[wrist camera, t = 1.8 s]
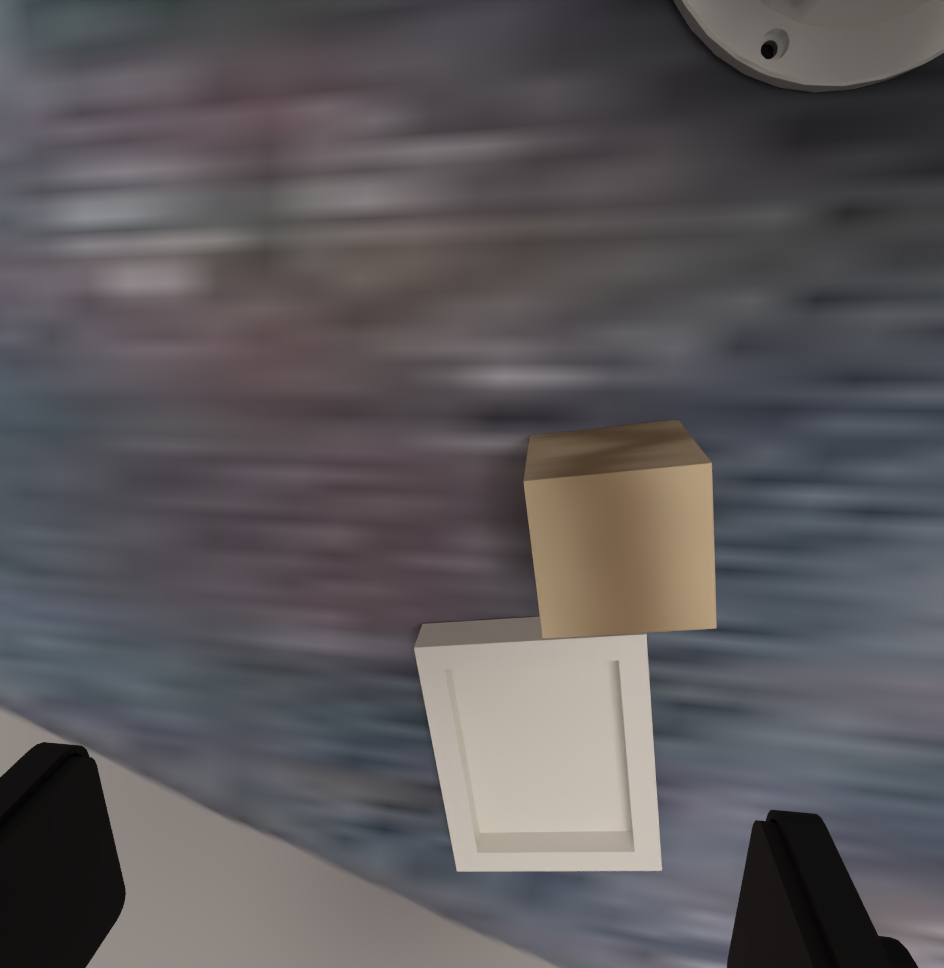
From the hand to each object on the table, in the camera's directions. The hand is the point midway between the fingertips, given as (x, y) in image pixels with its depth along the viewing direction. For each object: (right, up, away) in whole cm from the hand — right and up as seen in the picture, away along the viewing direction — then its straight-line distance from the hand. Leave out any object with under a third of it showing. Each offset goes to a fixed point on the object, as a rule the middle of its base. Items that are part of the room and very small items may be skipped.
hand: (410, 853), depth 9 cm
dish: (+4, -7, +23) cm, 24 cm away
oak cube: (+7, +5, +19) cm, 20 cm away
